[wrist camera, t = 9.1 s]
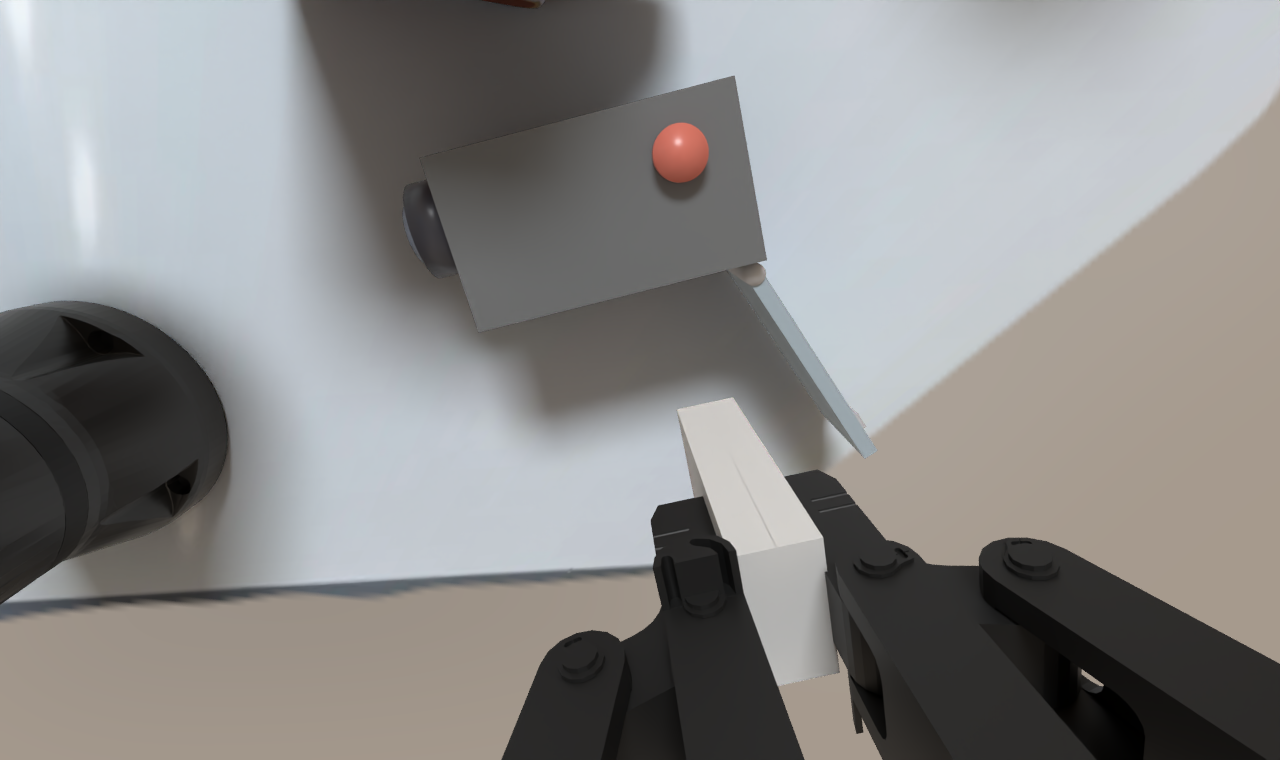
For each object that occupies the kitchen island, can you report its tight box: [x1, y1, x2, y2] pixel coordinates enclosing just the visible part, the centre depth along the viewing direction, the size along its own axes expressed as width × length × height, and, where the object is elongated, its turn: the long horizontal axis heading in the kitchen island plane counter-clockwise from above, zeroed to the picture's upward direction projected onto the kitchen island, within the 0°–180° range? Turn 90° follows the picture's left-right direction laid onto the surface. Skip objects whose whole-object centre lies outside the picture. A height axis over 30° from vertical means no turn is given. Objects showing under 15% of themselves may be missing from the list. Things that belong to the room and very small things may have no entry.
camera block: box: [403, 76, 767, 333], centre depth 31 cm, size 16×8×10 cm, turn 104°
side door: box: [727, 263, 877, 458], centre depth 34 cm, size 13×2×7 cm, turn 36°
